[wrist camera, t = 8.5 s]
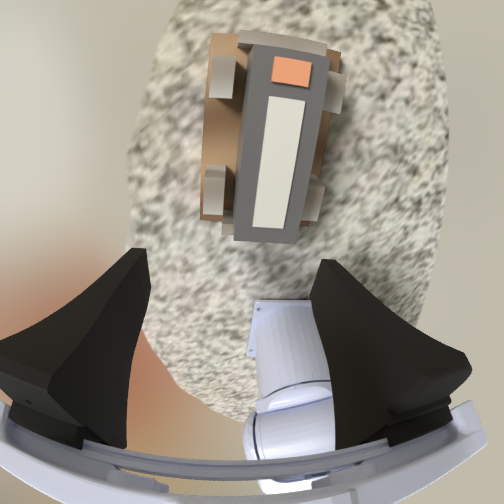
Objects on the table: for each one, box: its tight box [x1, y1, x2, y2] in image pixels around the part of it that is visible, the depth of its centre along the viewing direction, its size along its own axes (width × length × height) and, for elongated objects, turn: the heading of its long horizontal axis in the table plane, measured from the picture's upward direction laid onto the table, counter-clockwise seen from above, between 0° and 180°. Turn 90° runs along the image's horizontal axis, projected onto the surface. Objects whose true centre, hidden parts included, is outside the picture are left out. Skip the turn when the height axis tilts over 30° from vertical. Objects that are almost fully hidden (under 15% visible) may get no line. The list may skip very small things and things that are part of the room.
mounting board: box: [200, 30, 347, 235], centre depth 16 cm, size 13×8×4 cm, turn 174°
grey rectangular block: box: [233, 44, 331, 244], centre depth 14 cm, size 10×3×5 cm, turn 174°
